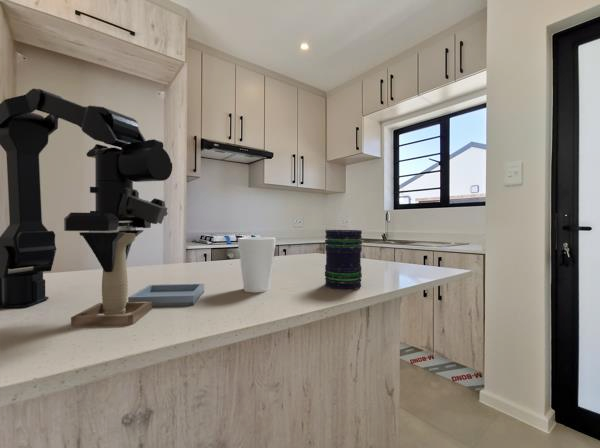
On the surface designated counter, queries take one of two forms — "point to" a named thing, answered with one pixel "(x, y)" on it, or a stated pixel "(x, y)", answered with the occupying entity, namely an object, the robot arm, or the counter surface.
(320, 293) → the counter surface
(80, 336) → the counter surface
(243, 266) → the foam cup
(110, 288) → the handle
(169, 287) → the tray
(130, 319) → the brown square frame
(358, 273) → the storage jar
